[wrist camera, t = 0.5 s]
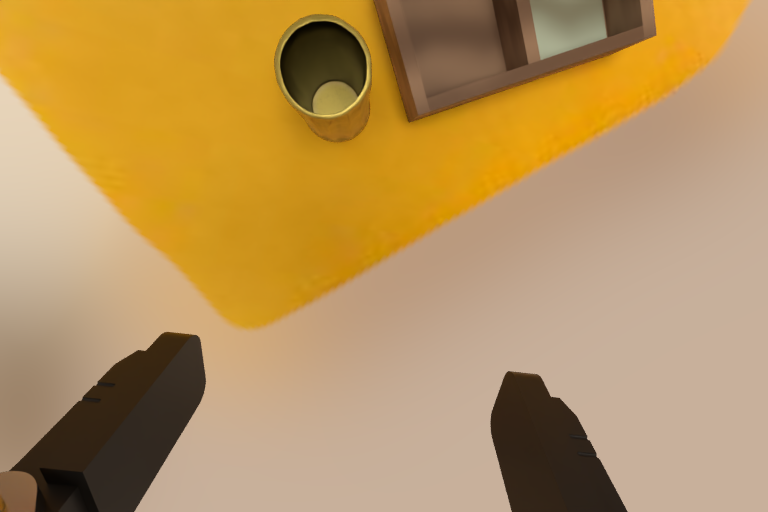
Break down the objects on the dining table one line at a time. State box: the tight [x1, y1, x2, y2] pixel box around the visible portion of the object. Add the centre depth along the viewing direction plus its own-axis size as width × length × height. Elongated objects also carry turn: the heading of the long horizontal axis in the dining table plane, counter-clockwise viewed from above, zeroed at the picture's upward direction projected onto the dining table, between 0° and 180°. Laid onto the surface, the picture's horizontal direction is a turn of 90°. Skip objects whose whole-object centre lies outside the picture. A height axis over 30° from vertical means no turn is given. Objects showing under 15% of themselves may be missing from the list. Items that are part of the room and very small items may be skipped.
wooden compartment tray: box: [374, 0, 656, 122], centre depth 30 cm, size 10×20×5 cm, turn 108°
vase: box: [274, 14, 372, 142], centre depth 26 cm, size 6×6×14 cm
